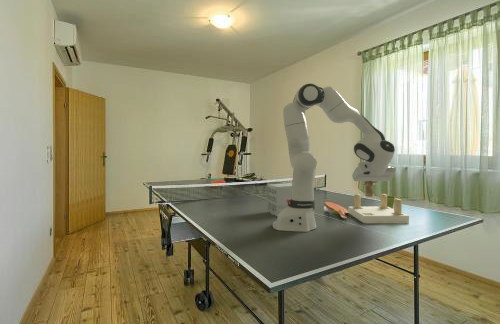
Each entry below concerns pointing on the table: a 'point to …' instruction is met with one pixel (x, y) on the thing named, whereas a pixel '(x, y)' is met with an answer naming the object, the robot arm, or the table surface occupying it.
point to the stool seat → (378, 211)
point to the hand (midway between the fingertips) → (368, 183)
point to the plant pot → (390, 201)
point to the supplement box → (278, 197)
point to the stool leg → (369, 188)
